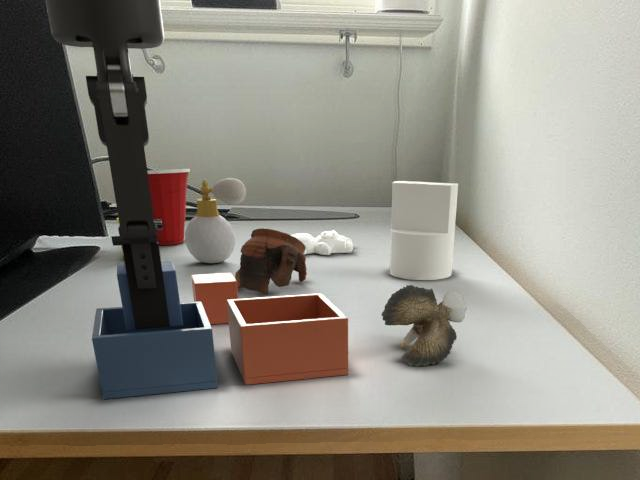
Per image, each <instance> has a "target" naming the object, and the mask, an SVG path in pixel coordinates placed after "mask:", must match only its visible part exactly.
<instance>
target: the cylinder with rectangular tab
mask: <svg viewBox="0 0 640 480" xmlns="http://www.w3.org/2000/svg"><path fill="white" fill-rule="evenodd" d="M458 191H459V183H451V182H433V181H414V180H413V181H411V180H395V181H392V183H391V211H390V212H391V213H390V248H389V249H390V250H389V275H391V276H392V277H394V278H398V279H404V280H409V281H411V280H412V281H437V280H443V279H447V278H449V277H451V276H452V275H453V273H452V272H453V263H454V262H453V260H454V246H455V245H454V244H455V235H456V233H455V232H456V219H457V218H456V217H457V207H458V204H457V203H458V194H459V193H458Z"/></svg>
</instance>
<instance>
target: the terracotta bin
mask: <svg viewBox="0 0 640 480" xmlns="http://www.w3.org/2000/svg"><path fill="white" fill-rule="evenodd" d="M227 311H228V322H229V323H228V330H229V331H228V332H229V338H230V339H229V342H230V353H231V355H232V357H233V360H234V362H235V365H236V366H237V369H238V371H239V373H240V375H241V378H242V380H243V382H244V385H245V386H247V385H248V386H249V385H250V386H251V385H260V384H267V383H277V382H279V383H280V382H288V381H297V380H309V379H317V378H328V377H337V376H347V375H349V318H348V317H347V316H346V314H344V313H343V312H342V311H341V310H340V309H339V307H337V306H336V305H335V304H334V303H333V302H332V301H331V300H330V299H329V298H328V297H326V295H324V294H323V293H322V292H320V293H306V294H290V295H289V294H288V295H275V296H263V297H262V296H261V297H247V298H246V297H245V298H238V299H229V300H227Z"/></svg>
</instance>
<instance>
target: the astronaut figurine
mask: <svg viewBox="0 0 640 480" xmlns="http://www.w3.org/2000/svg"><path fill="white" fill-rule="evenodd" d="M290 235H291V236H293V237H295V238H297V239H298V240H300V241H301V242H302V243H303V244H304V245H305V247H306V249H305V251H304V256H305V255H309V254H318V255H323V256H330V255H331V254H346V253H347V254H349V253H352V251H353V249H354V245H353V240H352V239H351V238H349V237H346V236H345V235H340V234H339V233H338V232H337V231H336V230H334V229H332V230H325V231H322V232H320V234H319V235H317V236H316V237H314V236H312V235H311V234H309V233H306V232H299V233H294V234H290Z"/></svg>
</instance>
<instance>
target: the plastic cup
mask: <svg viewBox="0 0 640 480" xmlns="http://www.w3.org/2000/svg"><path fill="white" fill-rule="evenodd" d="M190 171H191V169H190V168H177V169H173V168H172V169H156V170H147V172H148V179H149V186H150V193H151V200H152V208H153V215H154V219H161V221H162V228H163V229H161V230H158V233H157V234H158V239H157V242H158V243H159V246H174V245H179V244H182V243H184V241H185V231H186V227H185V224H186V215H187V213H186V211H187V189H188V178H189V173H190Z"/></svg>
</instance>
